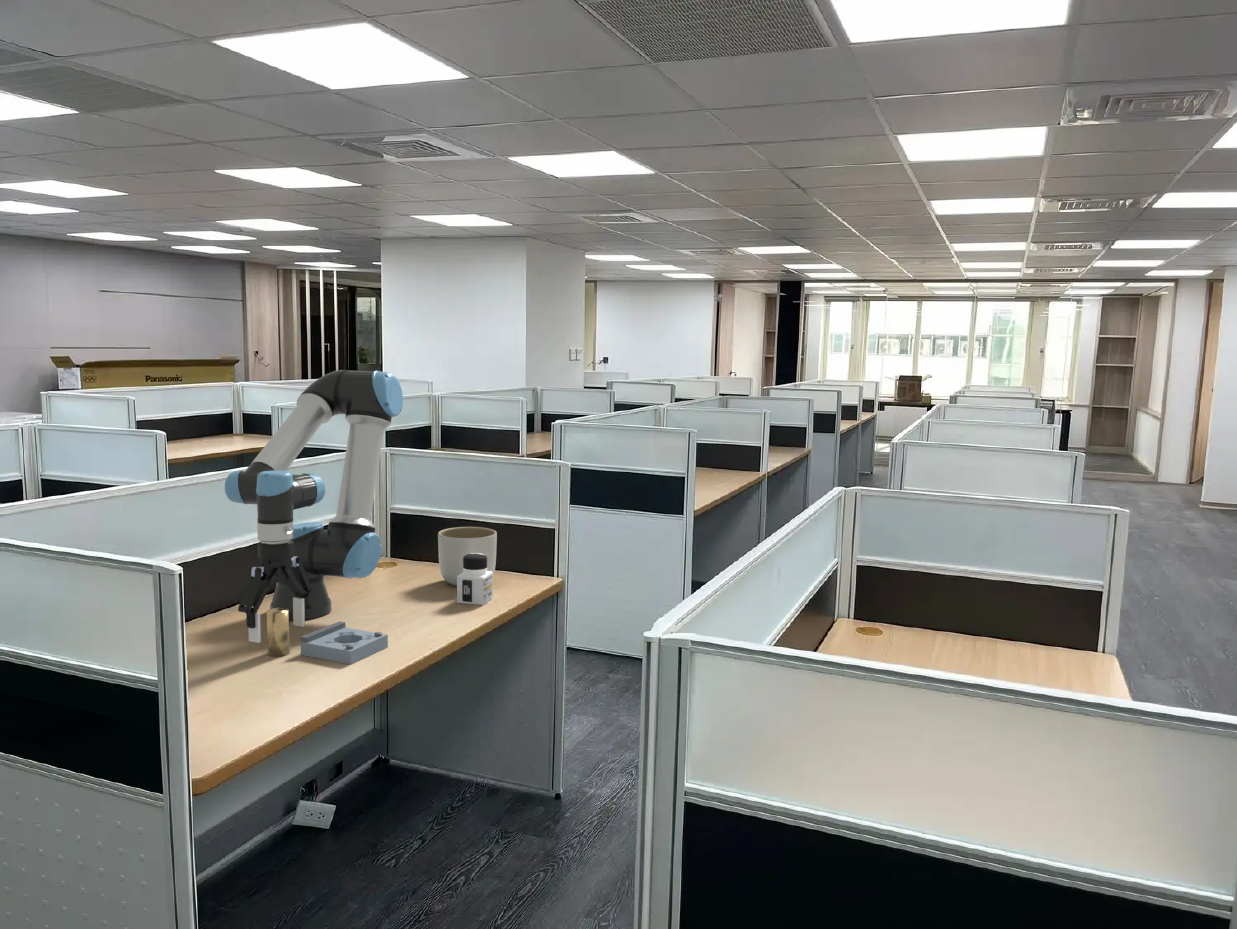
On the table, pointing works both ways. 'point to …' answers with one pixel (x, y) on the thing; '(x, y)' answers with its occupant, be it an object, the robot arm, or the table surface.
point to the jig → (342, 643)
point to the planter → (464, 549)
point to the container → (475, 580)
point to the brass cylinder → (278, 632)
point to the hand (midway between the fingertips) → (277, 633)
